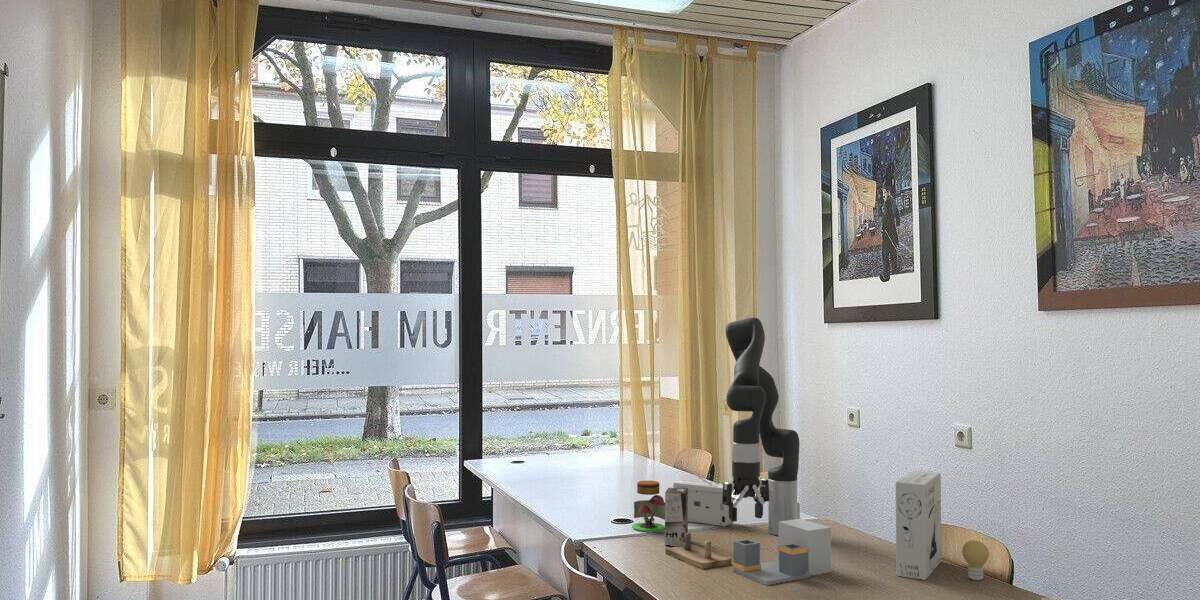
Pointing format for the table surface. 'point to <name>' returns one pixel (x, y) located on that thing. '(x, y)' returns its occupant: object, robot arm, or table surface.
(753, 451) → the robot arm
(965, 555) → the light bulb
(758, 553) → the sleeve
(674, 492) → the coffee box
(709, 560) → the pin board
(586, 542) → the table surface
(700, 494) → the stereo radio cassette player
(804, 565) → the sleeve
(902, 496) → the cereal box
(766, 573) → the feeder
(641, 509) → the red mushroom
